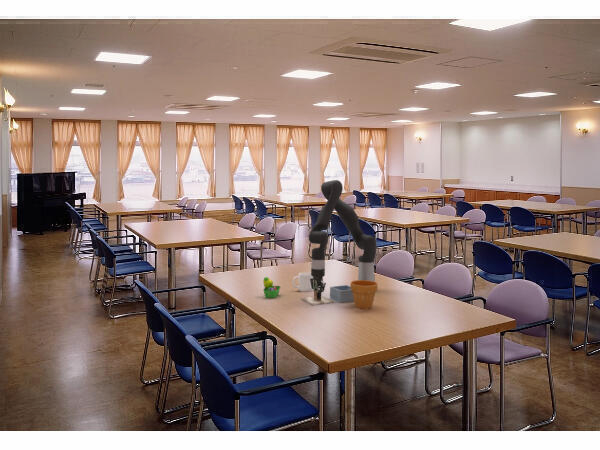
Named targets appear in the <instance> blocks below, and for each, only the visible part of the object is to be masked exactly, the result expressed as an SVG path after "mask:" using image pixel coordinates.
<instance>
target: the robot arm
mask: <svg viewBox="0 0 600 450" xmlns="http://www.w3.org/2000/svg"><path fill="white" fill-rule="evenodd" d="M343 189H344V188H343V184H342V182H341V181H340V180H338V179H334V180H329V181H324V182H323V183H321V186H320V191H321V193H322V195H323V197H324V198H325V199H326V200H327V201H326V202H325V204H324V205H323V207H322V208H321V209H320V210H319V213H318V215H317V217H316V222H315V224H314V225H313V227H312V229H310V232H309V234H308V241H309V243H310V244H313V245H314V244H315V245H319V246H318V247H315V248H312V249H311V262H310V273H311V276H312V278H311V279H310V282H311V287H312V291H313V292H314V290H317V292H318V293H317V299H321V296H322V293H324V292H325V288H326V285H327V283H326V282H324V278H323V277H325V275H326V270H325V269H326V262H325V261H326V260H325V257H326V256H325V254H326V253H325V252H326V248H327V244H328V240H329V234H328V233H327V232H326V231H325V230H327V229H328V228H329V225H330V222H331V219H332V215H333V212H334V211H335V212H336V214H337V215H338V216H339V219H340V220H341V222H342V223H343V224H344V227H345V228H346V229H347V230H348V232H349V233H350V235H351V237H352V239H353V241H354V242H355V243H354V244H355V245H356V246H357V248H358V249H360V250H363V254H362V255H360V256H358V264H357V265H358V266H357V267H358V270H357V272H358V275H357V276H358V277H357V280H369V281H374V282H376V278H375V277H376V275H375V273H374V272H375V271H374V270H375V269H374V268H375V266H374V265H375V258H376V255H377V254H376V253H377V240H376V237H374V236H373V235H368V234H366V233H364V232H363V230H362V228H361V227H360V220H359V216H358V214H357V213H356V211H355V210H354V208H353V207H352V206H350V205H349V204H348V203H346V202H345V201H343V200H342V199H341V196H342V194H343Z"/></svg>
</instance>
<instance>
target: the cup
mask: <svg viewBox="0 0 600 450" xmlns="http://www.w3.org/2000/svg"><path fill="white" fill-rule="evenodd" d="M311 278H313V276H311V272H299V273H298V275H296V276H294V277H293V278H292V286H293V287H294V288H295V289H298V291H299V292H302V293H307V292H308V293H309V292H312V291H313V289H312V287H311V282H310V279H311ZM296 279H298V285H296V284H295V280H296Z"/></svg>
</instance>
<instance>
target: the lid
mask: <svg viewBox="0 0 600 450" xmlns="http://www.w3.org/2000/svg"><path fill="white" fill-rule="evenodd" d="M317 293H318V292H317V290H314V291H313V296H310V297H309V296H308V297H302V298H301V299H302V300H303V302H304V301H305V302H304V303H306V302H307V303H306V304H308V303H309V304H308V305H310V304H311V305H310V306H312V305H314V306H320V305H319V304H322V305H328V304H327V303H330V304H335V303H334V302H335V300H333V299H330V298H328V297H326V296H323V295H321V299H317ZM302 300H301V301H302Z"/></svg>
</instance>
